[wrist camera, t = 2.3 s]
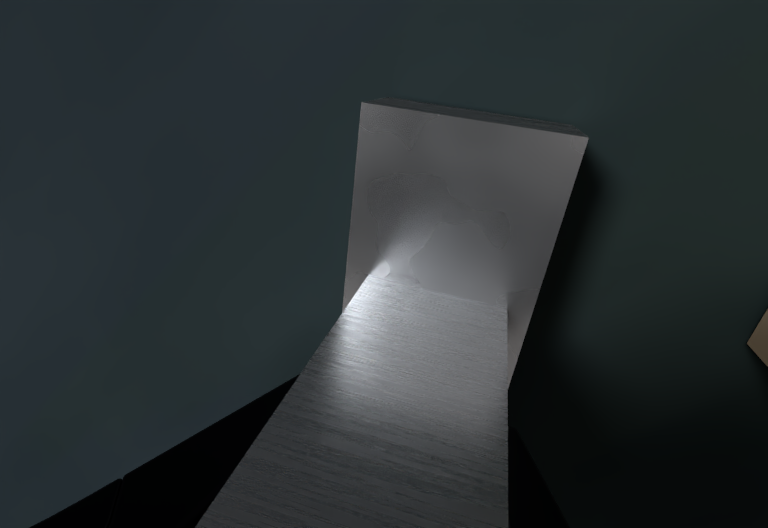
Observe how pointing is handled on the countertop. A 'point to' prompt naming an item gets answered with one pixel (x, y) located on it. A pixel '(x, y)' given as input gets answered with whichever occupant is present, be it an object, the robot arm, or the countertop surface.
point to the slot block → (760, 339)
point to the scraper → (417, 330)
